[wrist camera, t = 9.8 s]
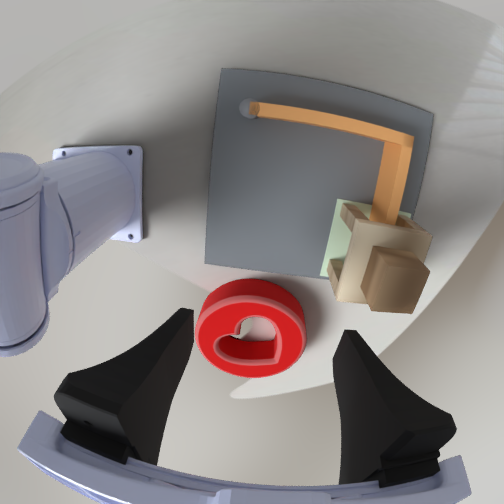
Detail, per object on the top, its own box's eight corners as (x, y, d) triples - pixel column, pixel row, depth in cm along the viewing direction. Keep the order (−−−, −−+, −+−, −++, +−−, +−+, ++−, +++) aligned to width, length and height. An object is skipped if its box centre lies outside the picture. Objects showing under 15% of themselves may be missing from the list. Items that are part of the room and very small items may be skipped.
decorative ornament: (278, 366, 28) (279, 388, 25) (191, 339, 27) (184, 361, 24) (322, 298, 24) (327, 320, 21) (218, 261, 23) (210, 281, 20)
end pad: (319, 275, 22) (320, 275, 22) (337, 198, 20) (337, 198, 19) (388, 283, 22) (388, 283, 22) (410, 213, 20) (411, 213, 19)
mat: (206, 260, 23) (204, 263, 22) (222, 70, 17) (221, 68, 16) (388, 283, 23) (390, 286, 22) (429, 114, 17) (433, 114, 16)
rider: (326, 270, 22) (345, 327, 16) (342, 203, 20) (374, 239, 13) (387, 278, 22) (419, 330, 16) (406, 215, 20) (453, 254, 13)
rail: (229, 250, 22) (223, 269, 19) (244, 101, 17) (240, 97, 14) (366, 268, 22) (377, 288, 19) (398, 132, 17) (417, 134, 14)
